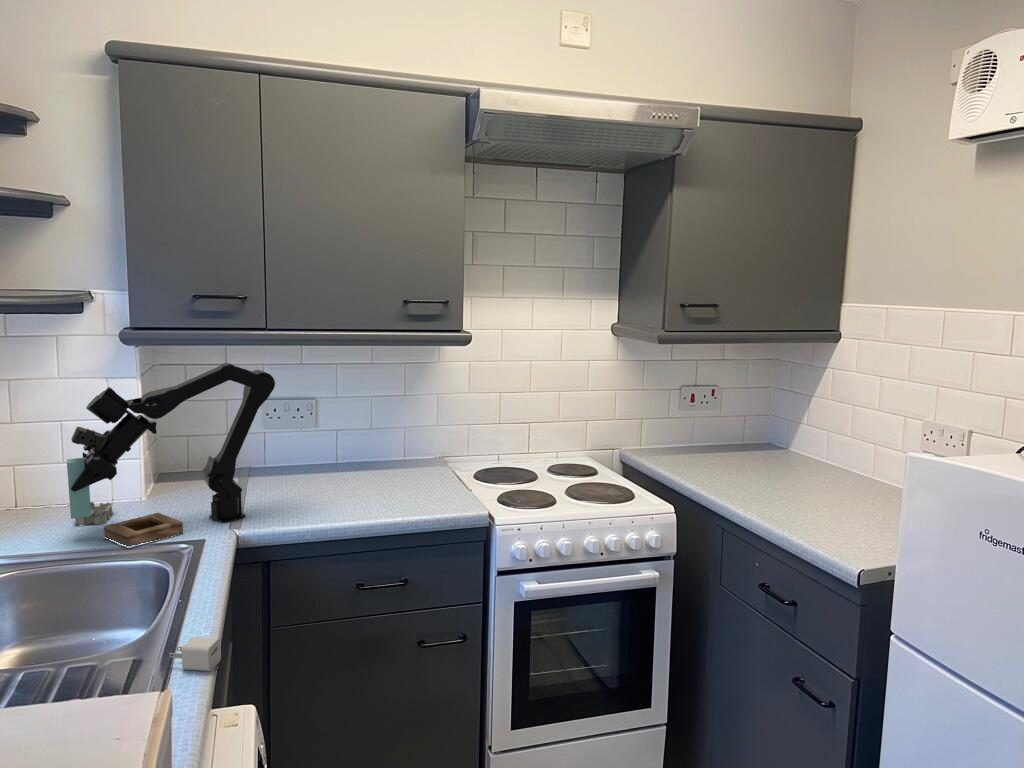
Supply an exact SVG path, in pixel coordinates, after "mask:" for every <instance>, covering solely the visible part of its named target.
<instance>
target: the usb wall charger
mask: <svg viewBox="0 0 1024 768" xmlns="http://www.w3.org/2000/svg"><path fill="white" fill-rule="evenodd" d="M221 647H222V645H221V639H220V638H216V637H204V636H203V637H202V636H201V637H200V636H199V637H198V636H192V637H191V638H190V639H188V641H187V642H185V643H184V644H183V645H182V646H176V651H178V652H169V653H168V654H169V658H174V659H181V668H182V670H186V671H187V670H188V671H198V672H199V671H200V672H202V671H203V672H211V671H212V670H213V669H214V668H215V667H216V666H217V665H218V664H219V663H220V661H221V658H222V651H221V650H222V648H221Z"/></svg>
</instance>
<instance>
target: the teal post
mask: <svg viewBox="0 0 1024 768" xmlns="http://www.w3.org/2000/svg"><path fill="white" fill-rule="evenodd" d="M84 460H86V461H87V457H85V458H83V457H79V458H78V457H77V458H76V457H75V458H66V471H67V482H68V483H67V484H68V497H69V511H70V512H69V513H70V519H71V520H72V519H75V518H81V517H88V516H91V504H90V502H91V493H90V492H91V490H90V485H89V486H87V487H84V488H82V489H80V490H78V491H76V492H73V491H72V490H71V487H72V486H73V484H74V483H75V482H76V480H77V479H78V477H79V476H80V475H81V473H82V472H83V470H84V469H85V466H84Z"/></svg>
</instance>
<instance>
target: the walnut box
mask: <svg viewBox="0 0 1024 768" xmlns="http://www.w3.org/2000/svg"><path fill="white" fill-rule="evenodd" d="M183 525H184V523H183V521H182V520H179V519H176V518H173V517H171V516H169V515H166V514H162V513H161V512H155V513H151V514H147V515H142V516H139V517H134V518H131V519H127V520H122V521H120V522H114V523H112V524H108V525H104V526H103V534H104V535H103V536H104V537H106V538H108V539H111V540H114V541H116V542H118V543H120V544H123V545H126V546H132V545H138V544H141V543H146V542H150V541H155V540H159V539H163V538H167V537H170V538H172V537H171V536H174V535H177V536H179V535H178V534H181V533H183V534H184V529H183V527H184V526H183ZM181 535H182V534H181ZM174 537H175V536H174ZM167 539H168V538H167ZM163 540H164V539H163Z"/></svg>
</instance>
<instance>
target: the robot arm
mask: <svg viewBox="0 0 1024 768" xmlns="http://www.w3.org/2000/svg"><path fill="white" fill-rule="evenodd" d="M228 381H232V382H234V383H237V384H241V385H243V391H242V392H243V393H242V400H241V403H240V406H239V409H238V411H237V413H236V415H235V417H234V419H233V421H232V424H231V426H230V428H229V431H228V433H227V435H226V437H225V439H224V442H223V444H222V445H221V446H222V447H221V448H220V451H219V452H218V453H217V454H216V456H214V457H212V456H210V455H209V456H208V458H207V462H206V464H205V466H204V468H202V472H203V480H204V482H205V484H206V485H207V487H208V488H209V489H210V490H211V491H212V492H214V493H215V494H213V495H211V496H212V497H211V500H212V501H211V502H210V512H211V514H210V515H209V518H210V519H212V520H215V521H218V522H220V523H228V522H231V521H236V520H238V519H242V518H245V517H246V514H245V513H243V510H242V507H243V506H242V491H243V488H242V487H241V486H240V485H239V484H238V483H237V482H236V480H234V477H235V472H236V463H237V459H238V456H239V454H240V451H241V449H242V447H243V444H244V443H245V440H246V438H247V435H248V433H249V432H250V429H251V426H252V424H253V422H254V419H255V417H256V416H257V413H258V411H259V409H260V408H261V406H262V405H263V404H264V403H265V402H266V401H267V400H268V399H269V397H270V396H271V394H272V392H273V391H274V389H275V385H276V380H275V378H274V377H273V376H272V374H270V373H268V372H267V371H264V370H262V369H255V370H252V371H251V370H248V369H246V368H244V367H243V368H242V367H239V366H235V365H234V364H232V363H230V362H224V363H220V364H219V365H218V366H217V367H213V368H212V369H210V370H207V371H206V372H203V373H201V374H199V375H196V376H195V377H192V378H190V379H188V380H186V381H182V382H181V383H179V384H177V385H174V386H169V387H164V388H159V389H156V390H152V391H149V392H146V393H143V395H142V396H141V397H137V398H131V399H124V397H122V396H120V395H119V394H118V393H117V392H116V391H115V390H114V389H113V388H112V387H110V386H108V387H107V388H105V390H103V391H102V392H101V393H99V394H97V395H96V396H95V397H94V398H92V400H91V401H90V402H89V403H88V404H87V405H86V410H87V411H89V412H90V413H91V414H93V415H94V416H96V417H97V418H99V419H100V420H101V421H102V422H103V423H105V424H107V425H108V424H110V423H111V424H116V423H117V422H118V423H117V424H116V425H114V426H113V428H112V429H111V430H109V429H108V430H105V432H103V433H100V432H97V431H95V430H94V429H93V430H92V429H89V428H85V427H81V426H76V428H75V430H74V432H73V435H72V437H71V443H74V444H75V445H76V444H77V445H83V447H82V450H83V452H82V458H85V457H87V461H86V460H84V466H85V469H84V470H83V472H82V473H81V475H80V476H79V477H78V479H77V480H76V482H75V483H74V484H73V486H72V487H71V490H72V491H73V492H76V491H78V490H80V489H82V488H84V487H87V486H89V487H90V486H91V485H93V484H95V483H97V482H100V481H103V480H106V479H108V480H109V481H112V480H113V479H114V478H115V476H116V475H117V474H118V473H117V472H118V469H117V466H116V465H117V464H118V463H119V461H118V460H120V458H121V457H122V456H123V455H124V454H126V452H127V453H129V452H130V451H131V450H132V446H133V445H134V444H135V443H136V442H137V441H138V440H139V439H140V438H141V437H142V436H143V434H145V433H146V432H147V430H148V431H149V432H151V433H152V434H154V435H156V434H157V424H158V423H157V421H155V420H158V419H161V418H162V417H165V416H166V415H168V414H169V413H171V412H172V411H173V410H175V409H176V408H177V407H178V406H180V405H181V404H182V403H184V402H185V401H186V400H189V399H191V398H193V397H195V396H197V395H200V394H202V393H204V392H207V391H208V390H210V389H213V388H216V387H217V386H219V385H222V384H224V383H226V382H228ZM128 409H129V410H130V411H129V410H128ZM132 412H133V413H132ZM135 414H137V416H136V415H135ZM138 414H139V415H138ZM143 415H144V416H146V417H147V418H150V419H153V421H150V420H149V419H147V418H146V417H144V416H143ZM84 451H85V452H86V451H88V452H87V453H85V452H84Z"/></svg>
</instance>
